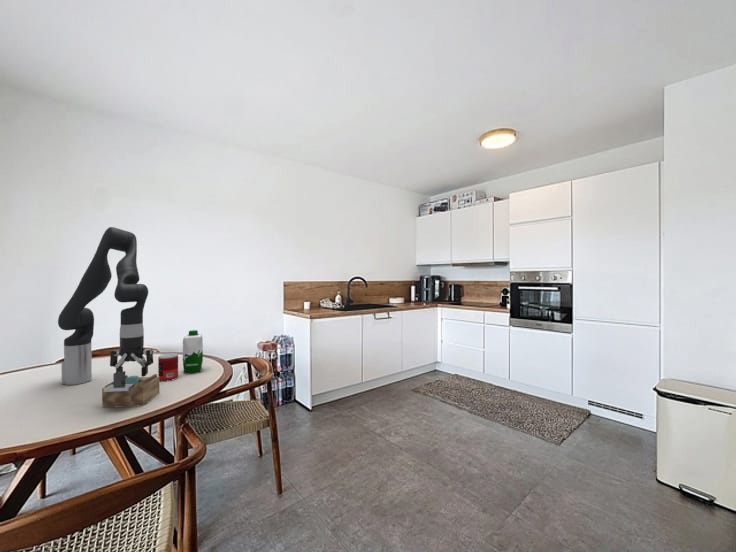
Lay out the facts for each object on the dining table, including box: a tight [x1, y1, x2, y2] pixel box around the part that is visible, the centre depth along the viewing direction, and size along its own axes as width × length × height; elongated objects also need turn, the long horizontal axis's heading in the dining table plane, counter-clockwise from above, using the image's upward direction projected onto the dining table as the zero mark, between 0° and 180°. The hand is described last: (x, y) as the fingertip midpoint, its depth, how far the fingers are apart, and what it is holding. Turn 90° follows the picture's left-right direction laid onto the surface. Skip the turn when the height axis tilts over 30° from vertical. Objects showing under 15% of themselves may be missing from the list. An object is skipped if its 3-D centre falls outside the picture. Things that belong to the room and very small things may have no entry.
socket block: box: [101, 373, 160, 408], centre depth 125 cm, size 14×12×8 cm
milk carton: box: [182, 329, 204, 375], centre depth 161 cm, size 9×9×20 cm
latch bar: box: [103, 370, 135, 392], centre depth 117 cm, size 8×4×6 cm, turn 98°
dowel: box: [126, 375, 139, 385], centre depth 125 cm, size 4×4×9 cm
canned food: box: [157, 352, 179, 382], centre depth 150 cm, size 8×8×11 cm
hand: (132, 376), depth 125 cm, fingers open, 8 cm apart
